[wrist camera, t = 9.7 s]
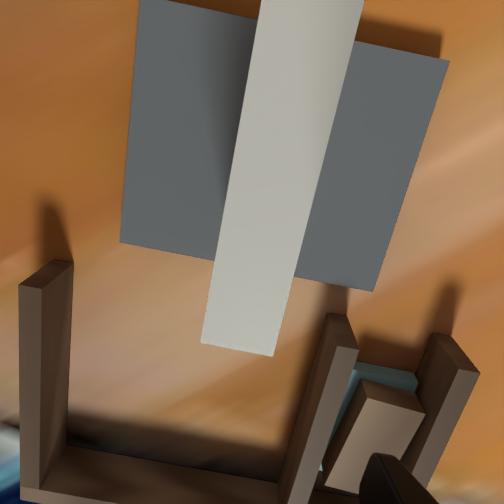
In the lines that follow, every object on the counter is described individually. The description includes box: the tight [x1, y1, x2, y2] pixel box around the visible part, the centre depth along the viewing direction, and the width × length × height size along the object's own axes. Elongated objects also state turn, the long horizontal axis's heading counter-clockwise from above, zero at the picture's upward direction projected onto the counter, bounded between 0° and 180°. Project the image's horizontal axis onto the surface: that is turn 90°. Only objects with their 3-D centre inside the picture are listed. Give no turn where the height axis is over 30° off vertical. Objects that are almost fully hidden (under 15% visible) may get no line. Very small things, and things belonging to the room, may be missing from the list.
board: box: [200, 0, 364, 357], centre depth 13 cm, size 2×9×8 cm, turn 169°
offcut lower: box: [319, 361, 418, 471], centre depth 22 cm, size 4×7×2 cm, turn 169°
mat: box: [120, 0, 450, 292], centre depth 17 cm, size 12×10×1 cm
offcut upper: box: [321, 378, 426, 494], centre depth 21 cm, size 3×6×2 cm, turn 164°
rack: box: [18, 260, 480, 504], centre depth 21 cm, size 20×13×3 cm, turn 79°
